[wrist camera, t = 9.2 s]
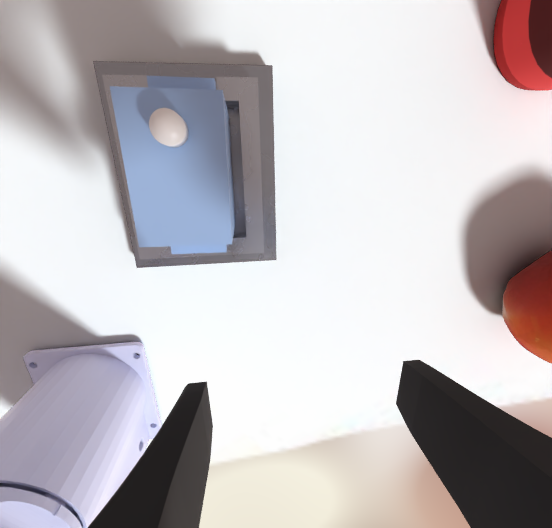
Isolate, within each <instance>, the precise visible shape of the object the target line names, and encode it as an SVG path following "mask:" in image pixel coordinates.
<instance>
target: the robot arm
mask: <svg viewBox="0 0 552 528" xmlns="http://www.w3.org/2000/svg"><path fill="white" fill-rule="evenodd" d="M135 353H138V354H140V355H136V354H135ZM23 359H24V362H25V364H26V367H27V369H28V372H29V374H30V376H31V379H32V381H33V383H34V385H33V386H32V387H31V389H30V390H29V391H28V392H27V393H26V394H25V395H24V396H23V397H22V398H21V399H20V400H19V401H18V402H17V403H16V404H15V405H14V406H13V407H12V408H11V409H10V410H9V411H8V412H7V413H6V414H5V415H4V416H3V417H2V418H1V419H0V528H199V523H200V517H201V511H202V505H203V499H204V493H205V487H206V481H207V475H208V470H209V463H210V455H211V442H212V428H213V425H212V417H211V410H210V403H209V396H208V388H207V382H200V383H190V384H188V385H187V386H186V387H185V388H184V390H183V392H182V394H181V396H180V397H179V399H178V401H177V402H176V404H175V406H174V407H173V409H172V411H171V412H170V414H169V416H168V417H167V419H166V420H165V422H164V424H163V425H162V424H161V420H160V415H159V411H158V406H157V402H156V397H155V393H154V389H153V384H152V380H151V375H150V371H149V366H148V362H147V358H146V353H145V349H144V346H143V344H142V343H140V342H126V343H114V344H103V345H91V346H79V347H67V348H56V349H44V350H32V351H29V352H28V353H27V354H25V355H24V357H23ZM35 363H36V364H35ZM396 404H397V406H398V408H399V411H400V413H401V415H402V417H403V419H404V421H405V423H406V425H407V427H408V428H409V430H410V432H411V434H412V436H413V437H414V439H415V440H416V442H417V444H418V445H419V447H420V448H421V450H422V451H423V453H424V455H425V456H426V458H427V459H428V461H429V462H430V464H431V465H432V467H433V469H434V470H435V472H436V473H437V475H438V476H439V478H440V479H441V481H442V482H443V484H444V486H445V487H446V489H447V490H448V492H449V493H450V495H451V496H452V498H453V499H454V501H455V503H456V504H457V505H458V507H459V509H460V510H461V512H462V514H463V515H464V517H465V519H466V520H467V522H468V524H469V525H470V527H471V528H552V438H551V437H549V436H547V435H545V434H543V433H541V432H539V431H538V430H536V429H534V428H532V427H530V426H529V425H527V424H525V423H523V422H522V421H520V420H518V419H516V418H515V417H513V416H511V415H509V414H508V413H506V412H504V411H502V410H501V409H499V408H497V407H496V406H494V405H492V404H491V403H489V402H487V401H486V400H484V399H482V398H481V397H479V396H477V395H476V394H474V393H473V392H471V391H469V390H468V389H466V388H464V387H463V386H461V385H460V384H458V383H456V382H455V381H453V380H452V379H450V378H448V377H447V376H445V375H444V374H442V373H440V372H439V371H437V370H436V369H434V368H432V367H431V366H429V365H427V364H426V363H424V362H422V361H420V360H412V361H403V367H402V373H401V378H400V384H399V390H398V395H397V401H396ZM154 423H155V424H154ZM149 439H153V440H152V442H151V443H150V445H149V446H148V448H147V449H146V447H147V444H148V441H149ZM145 449H146V451H145Z"/></svg>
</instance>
